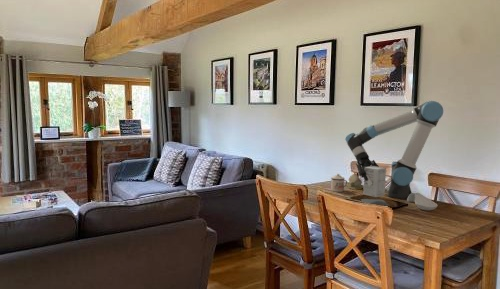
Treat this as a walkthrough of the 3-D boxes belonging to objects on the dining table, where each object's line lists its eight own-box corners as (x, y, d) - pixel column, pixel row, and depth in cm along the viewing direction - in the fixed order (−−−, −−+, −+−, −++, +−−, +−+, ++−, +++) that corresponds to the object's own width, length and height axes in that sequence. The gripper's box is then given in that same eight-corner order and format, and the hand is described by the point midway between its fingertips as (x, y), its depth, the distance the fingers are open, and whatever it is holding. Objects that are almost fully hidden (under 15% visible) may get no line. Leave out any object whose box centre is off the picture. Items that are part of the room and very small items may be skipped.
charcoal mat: (382, 201, 236) (382, 199, 236) (388, 207, 223) (389, 205, 223) (361, 200, 236) (361, 199, 236) (366, 206, 224) (366, 204, 223)
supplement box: (371, 192, 236) (373, 165, 234) (385, 195, 229) (386, 167, 227) (362, 194, 230) (364, 166, 228) (376, 197, 223) (377, 169, 221)
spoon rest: (441, 212, 214) (442, 199, 213) (421, 212, 213) (422, 200, 212) (418, 201, 238) (419, 190, 237) (400, 202, 236) (401, 190, 236)
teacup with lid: (334, 192, 259) (335, 175, 258) (328, 189, 268) (329, 173, 267) (350, 191, 262) (351, 174, 261) (343, 188, 271) (344, 172, 270)
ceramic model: (365, 189, 271) (366, 175, 270) (350, 189, 269) (351, 175, 268) (357, 185, 285) (358, 172, 284) (343, 185, 283) (343, 172, 282)
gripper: (371, 157, 246) (388, 186, 234) (343, 159, 236) (359, 189, 223) (377, 150, 241) (395, 179, 229) (349, 151, 230) (366, 182, 218)
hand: (378, 184), depth 226 cm, fingers closed on supplement box, 11 cm apart
